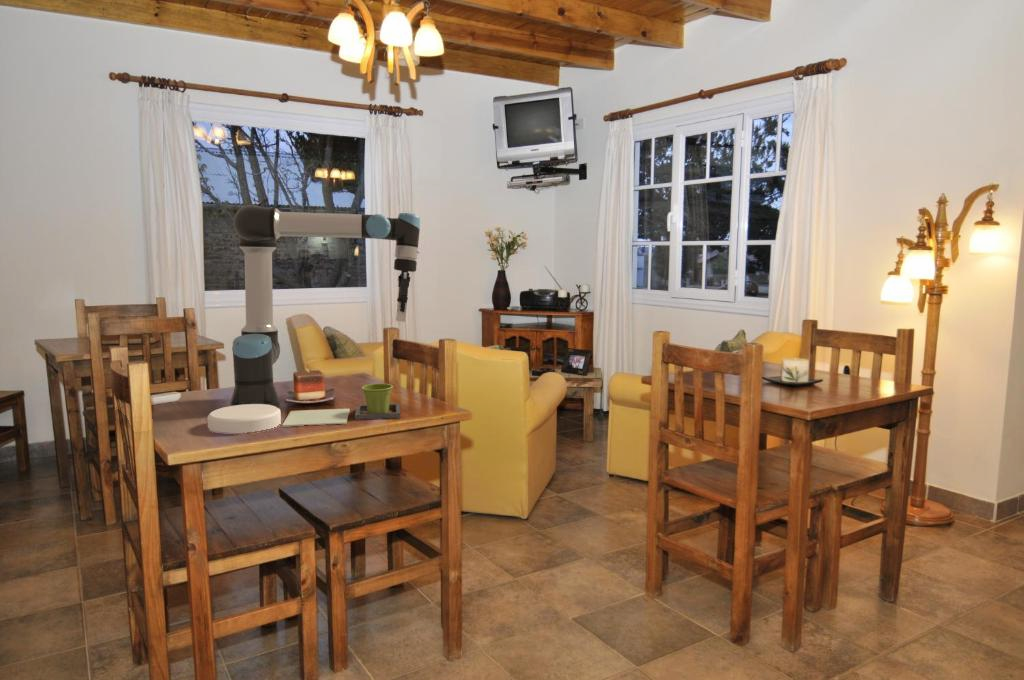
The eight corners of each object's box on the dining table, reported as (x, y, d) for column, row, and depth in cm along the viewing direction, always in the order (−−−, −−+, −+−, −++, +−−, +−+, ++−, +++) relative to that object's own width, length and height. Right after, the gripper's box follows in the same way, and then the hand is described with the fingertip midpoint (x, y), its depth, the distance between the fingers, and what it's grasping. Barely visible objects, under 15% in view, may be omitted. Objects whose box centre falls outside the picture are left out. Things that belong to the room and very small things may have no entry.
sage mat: (282, 427, 206) (282, 425, 206) (290, 412, 224) (290, 410, 224) (346, 424, 209) (346, 422, 209) (349, 410, 227) (349, 408, 227)
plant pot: (384, 418, 216) (383, 390, 215) (357, 416, 219) (356, 388, 218) (398, 411, 225) (398, 384, 224) (372, 409, 228) (371, 382, 227)
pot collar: (355, 420, 214) (354, 415, 214) (357, 409, 227) (356, 405, 227) (400, 418, 217) (400, 413, 216) (399, 408, 230) (399, 403, 229)
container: (293, 426, 208) (292, 411, 207) (224, 439, 194) (223, 423, 194) (263, 415, 223) (262, 400, 222) (197, 426, 209) (196, 410, 208)
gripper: (419, 258, 233) (413, 323, 233) (415, 262, 257) (409, 321, 258) (395, 255, 231) (390, 320, 232) (393, 260, 256) (388, 319, 257)
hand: (400, 321), depth 245 cm, fingers open, 13 cm apart
